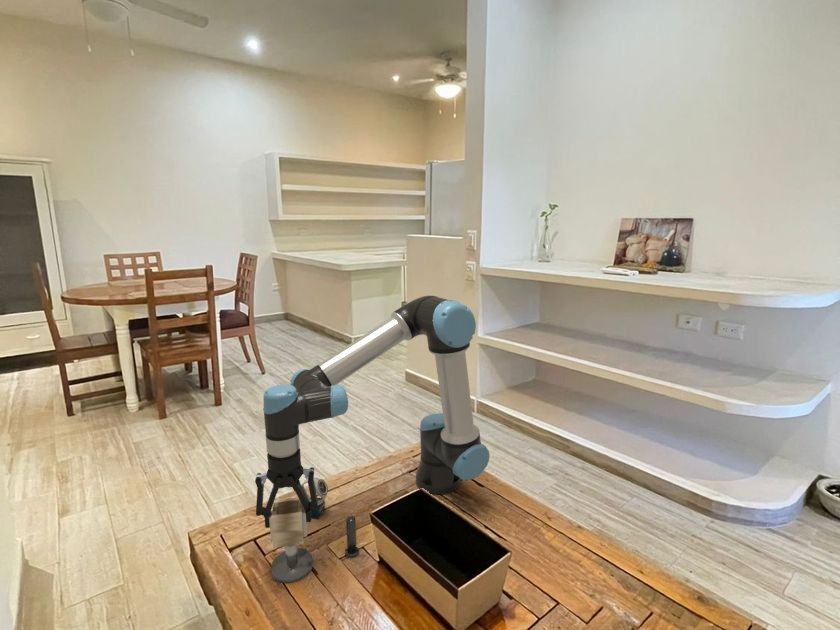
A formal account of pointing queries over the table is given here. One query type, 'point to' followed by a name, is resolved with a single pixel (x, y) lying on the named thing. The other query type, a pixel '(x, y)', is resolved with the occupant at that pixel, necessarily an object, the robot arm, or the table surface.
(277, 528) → the wooden square sleeve
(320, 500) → the watch
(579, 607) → the table surface
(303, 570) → the stand
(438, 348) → the robot arm
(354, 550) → the stand
